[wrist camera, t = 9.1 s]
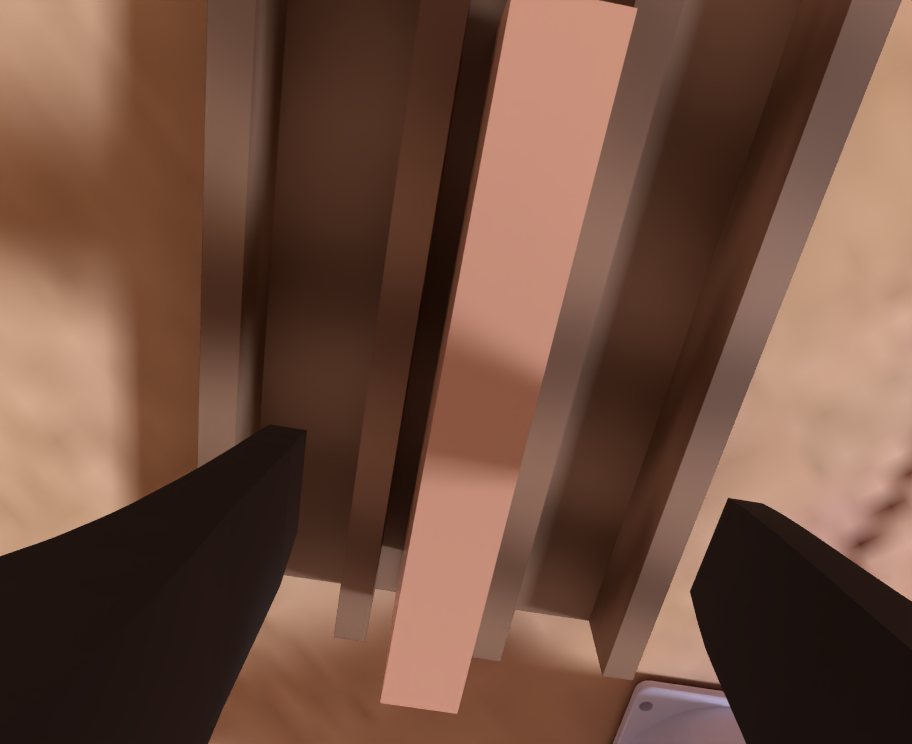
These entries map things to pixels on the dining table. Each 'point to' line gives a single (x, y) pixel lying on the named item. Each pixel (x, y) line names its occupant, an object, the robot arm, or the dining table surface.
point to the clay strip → (499, 325)
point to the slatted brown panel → (432, 259)
